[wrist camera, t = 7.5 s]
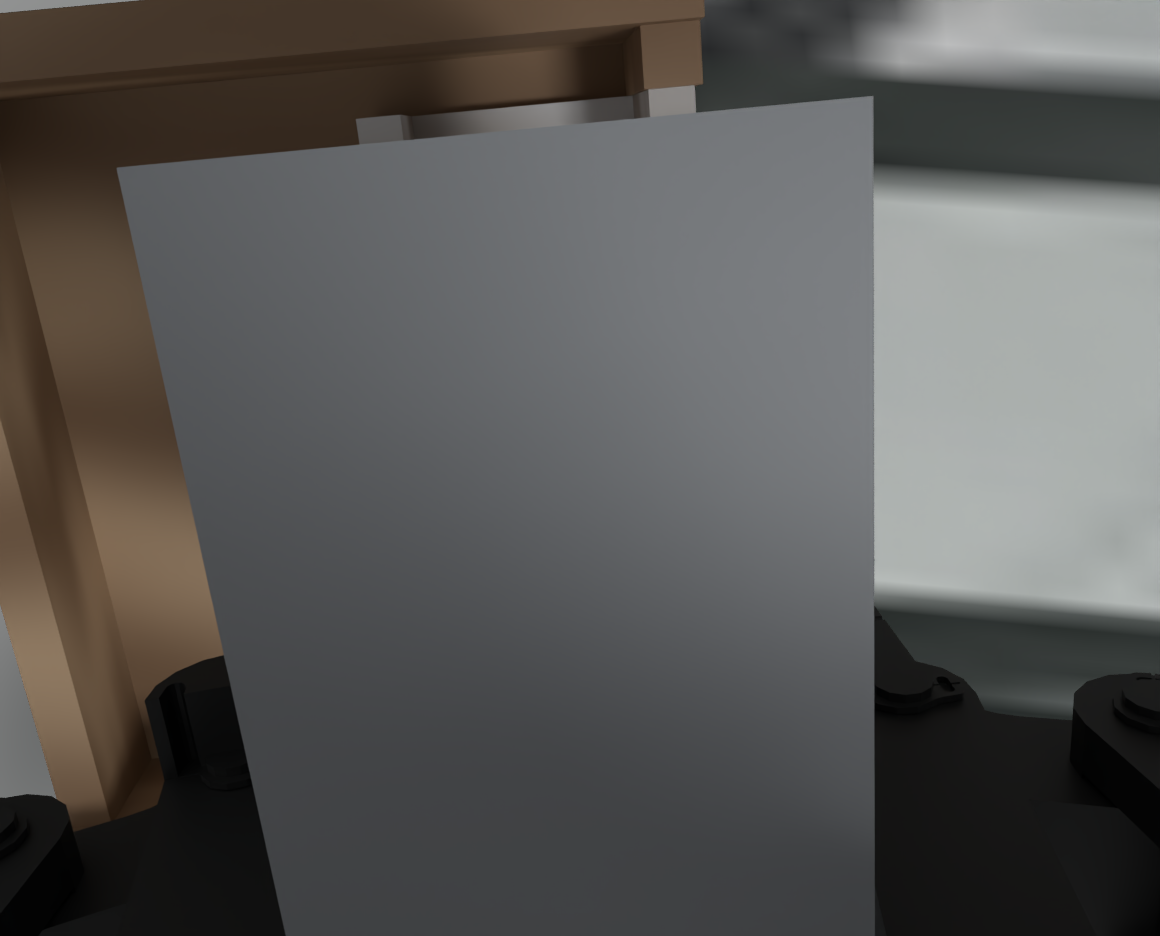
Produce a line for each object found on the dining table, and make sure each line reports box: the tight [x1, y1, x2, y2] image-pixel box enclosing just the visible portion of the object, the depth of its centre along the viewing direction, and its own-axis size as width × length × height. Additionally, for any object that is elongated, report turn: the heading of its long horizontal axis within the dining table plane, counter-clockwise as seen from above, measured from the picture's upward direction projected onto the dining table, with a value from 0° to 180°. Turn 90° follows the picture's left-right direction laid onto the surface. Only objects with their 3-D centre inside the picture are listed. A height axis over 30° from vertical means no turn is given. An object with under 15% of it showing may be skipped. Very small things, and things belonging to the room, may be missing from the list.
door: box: [117, 96, 875, 936], centre depth 12 cm, size 12×4×12 cm, turn 5°
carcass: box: [0, 0, 705, 832], centre depth 21 cm, size 17×15×5 cm
